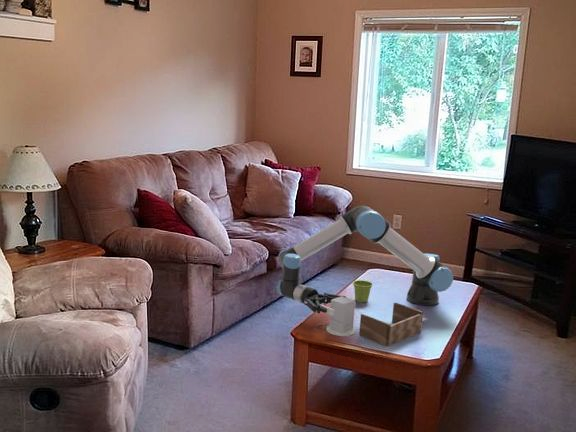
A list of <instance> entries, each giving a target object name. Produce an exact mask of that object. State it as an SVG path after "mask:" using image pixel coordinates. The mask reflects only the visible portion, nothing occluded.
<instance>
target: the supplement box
mask: <svg viewBox="0 0 576 432" xmlns="http://www.w3.org/2000/svg"><path fill="white" fill-rule="evenodd" d="M340 296H341V297H338V298H335V299H332V300H331V303H330V308H332V309H335V312H334V316H331V315H329V324H328V325H329V329H332V330H335V331H337V332H340V333H345V332H348V331H350V330H353V328H354V322H355V309H356V305H355V303H356V300H355V299H351V298H348V297H346V298H345V297H342V296H343V295H340Z"/></svg>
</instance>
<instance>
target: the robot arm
mask: <svg viewBox="0 0 576 432" xmlns="http://www.w3.org/2000/svg"><path fill="white" fill-rule="evenodd" d="M356 232H358V233H359V234H360V235H361V236H363V237H364V238H366V239H367V240H369V241H370V242H371V243H373V244H379V245H381V246H382V247H383V248H385V250H387V251H388V252H390V253H391V254H392V255H393V256H394V257H396V258H398V260H400V261H402V262H403V263H404V264H405V265H406V266H408V267H409V268H410V269H412V280H411V284H410V287H409V289H408V291H407V293H406V300H407V301H408V302H410V303H413V304H416V305H418V306H419V305H421V306H434V305H437V304H439V301H440V296H439V293H441V292H445V291H447V290H449V289H450V287H451V286H452V285H453V282H454V274H453V272H452V271H451V269H450V268H449V267H447V266H445V265H444V264H443V263H442V262H440V260H441V259H440V255H438V254H434V253H424V252H422V251H421V250H419V248H417V247H416V246H415V245H413V244H412V243H411V242H409V241H408V240H407V239H406V238H405V237H403V236H402V235H400V234H399V233H398V232H397V231H395V230H394V229H393V228H392V227H391V223H390V221H389V220H387V219H386V218H384V217H383V216H382V215H381V213H380V212H378V211H375V210H374V209H372V208H371V207H369V206H368V205H358V206H356V207H353V208H351V209H350V210H349V211H346V212H345V213H344V214H342V215H340V216H339V219H337V220H336V221H334V222H333V223H330V224H329V225H328V226H326V227H325V228H323V229H321V230H318V232H316V233H315V234H313V235H311V236H309V237H308V238H306V239H304V240H302V241H301V242H299V243H298V244H296V245H294V246H293V247H291V248H289V249H283V250H281V251H280V252H279V254H278V256H277V257H278V262H279V265H280V267H281V269H282V278H281V279H279V280H278V281H277V284H276V292H277V293H278V295H281V296H282V297H284V298H288V299H291V300H294V301H296V302H299V303H300V304H304V306H307V308H309V310H310V311H312V312H313V313H317V314H321V313H324V314H326V315H328V316H330V315H331V316H334V312H335V309H332V308H331V307H329V306H326V304H331V300H332V299H335V298H338V297H341V296H342V297H345V298H347V297H346V296H345V295H338V294H333V293H327V292H323V294H321V293H319V292H318V290H317V289H316V288H313V287H311V286H307V285H304V284H301V283H300V277H301V276H300V273H301V265H302V263H301V262H302V261H303V260H305V259H308V258H309V257H311V256H313V255H314V254H316V253H317V252H319V251H321V250H322V249H324V248H326V247H327V246H329V245H331V244H332V243H334V242H336V241H337V240H339V239H341V238H342V237H344V236H346V235H347V234H348V235H352V234H354V233H356ZM356 303H357V302H355V306H356ZM324 304H325V305H324Z"/></svg>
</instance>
